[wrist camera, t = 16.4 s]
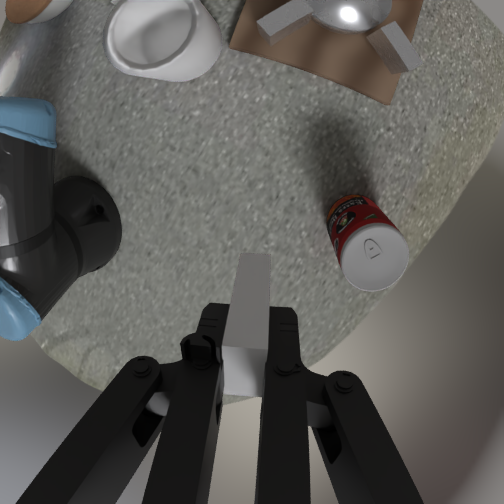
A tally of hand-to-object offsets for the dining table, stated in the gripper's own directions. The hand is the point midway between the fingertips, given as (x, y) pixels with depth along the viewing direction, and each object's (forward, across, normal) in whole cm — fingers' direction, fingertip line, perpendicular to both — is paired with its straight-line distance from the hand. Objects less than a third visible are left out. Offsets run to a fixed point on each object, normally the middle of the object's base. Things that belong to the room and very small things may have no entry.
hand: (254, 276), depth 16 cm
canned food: (+25, +12, -6) cm, 28 cm away
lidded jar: (+25, -31, +29) cm, 49 cm away
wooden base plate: (+24, +7, +23) cm, 34 cm away
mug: (+25, -12, +18) cm, 32 cm away
